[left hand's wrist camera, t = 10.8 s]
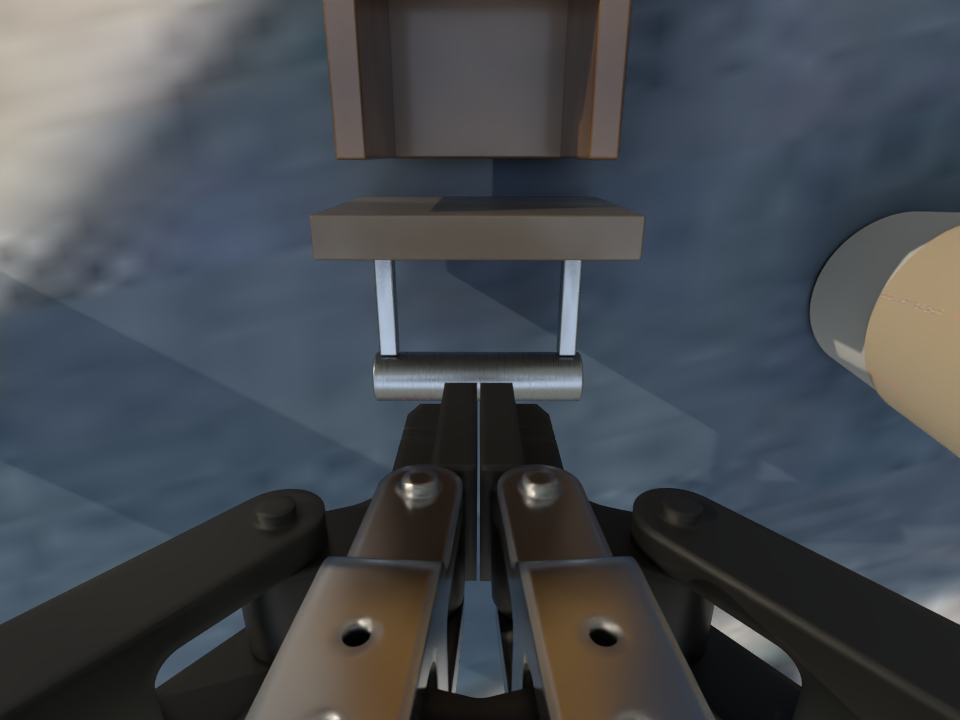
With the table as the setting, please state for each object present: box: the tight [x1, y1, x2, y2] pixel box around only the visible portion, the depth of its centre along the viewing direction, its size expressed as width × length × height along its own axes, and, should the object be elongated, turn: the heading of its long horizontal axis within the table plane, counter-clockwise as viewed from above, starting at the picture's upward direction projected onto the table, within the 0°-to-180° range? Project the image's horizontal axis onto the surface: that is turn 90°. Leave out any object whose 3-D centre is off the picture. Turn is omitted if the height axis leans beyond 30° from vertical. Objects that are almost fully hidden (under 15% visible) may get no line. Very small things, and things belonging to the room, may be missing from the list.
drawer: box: [310, 0, 645, 401], centre depth 16 cm, size 24×9×7 cm, turn 0°
